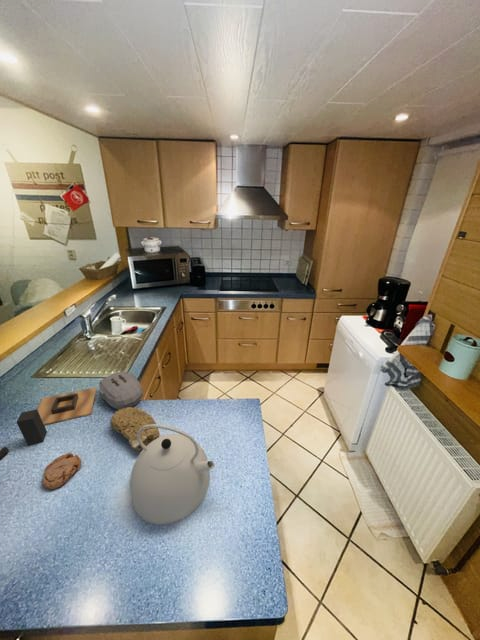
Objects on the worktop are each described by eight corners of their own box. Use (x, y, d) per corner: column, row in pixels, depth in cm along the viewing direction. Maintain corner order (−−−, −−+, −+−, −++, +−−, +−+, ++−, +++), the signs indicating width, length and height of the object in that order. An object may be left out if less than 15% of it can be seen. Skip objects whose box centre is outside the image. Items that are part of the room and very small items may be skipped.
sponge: (165, 441, 89) (143, 401, 101) (160, 431, 84) (138, 390, 96) (128, 466, 83) (110, 420, 95) (121, 456, 78) (102, 409, 90)
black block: (27, 445, 85) (16, 422, 80) (32, 435, 89) (21, 412, 84) (43, 441, 86) (32, 418, 82) (47, 432, 90) (37, 409, 86)
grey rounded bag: (95, 394, 108) (116, 418, 96) (91, 378, 105) (112, 402, 93) (129, 378, 119) (151, 398, 107) (126, 363, 115) (149, 382, 103)
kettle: (225, 455, 83) (224, 404, 73) (202, 536, 63) (197, 479, 53) (156, 441, 87) (147, 391, 78) (114, 512, 67) (94, 456, 58)
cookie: (36, 494, 71) (32, 487, 70) (51, 460, 80) (48, 454, 79) (75, 485, 74) (73, 478, 72) (85, 453, 83) (83, 447, 82)
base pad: (29, 428, 91) (27, 423, 90) (43, 399, 105) (41, 394, 104) (91, 414, 98) (89, 409, 97) (96, 388, 112) (95, 383, 110)
